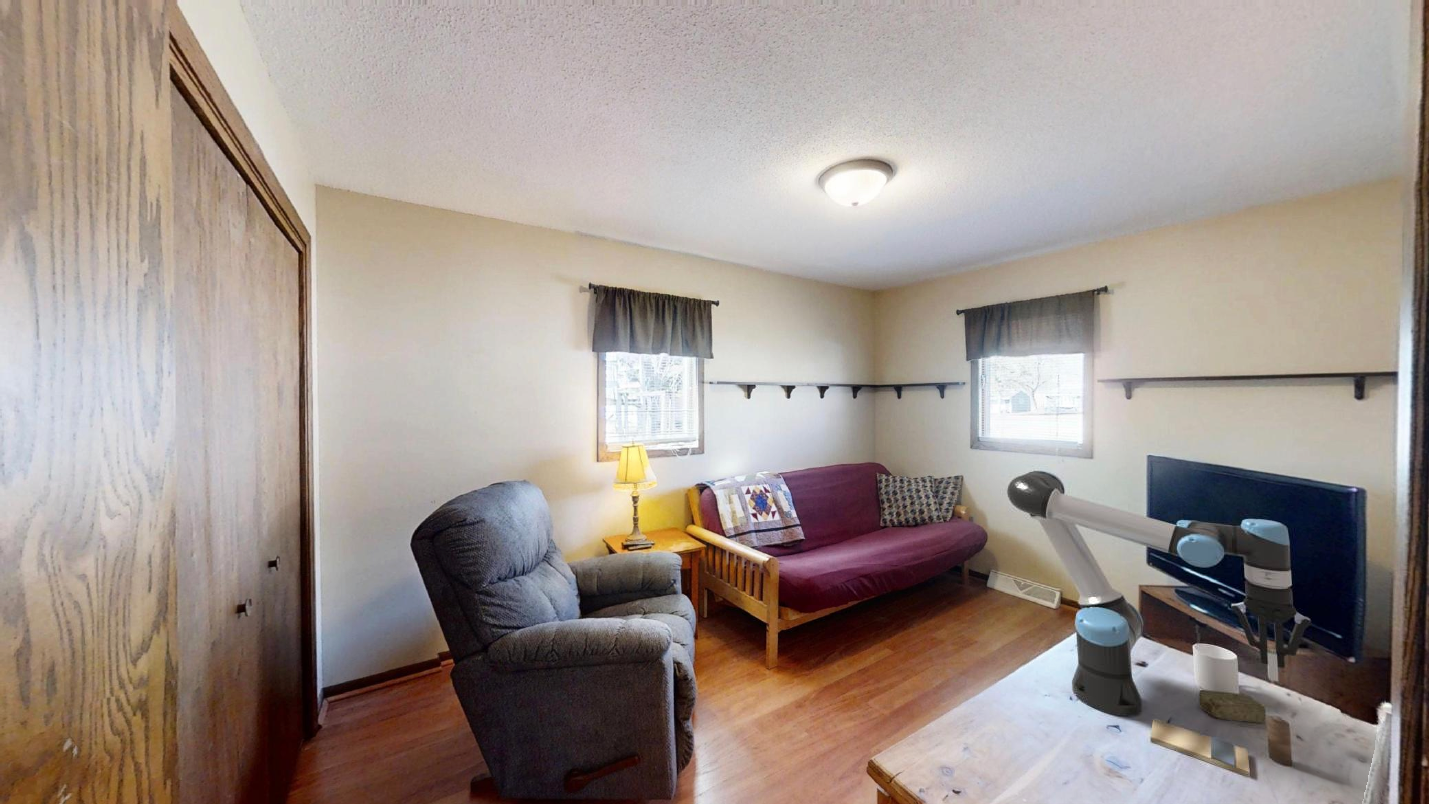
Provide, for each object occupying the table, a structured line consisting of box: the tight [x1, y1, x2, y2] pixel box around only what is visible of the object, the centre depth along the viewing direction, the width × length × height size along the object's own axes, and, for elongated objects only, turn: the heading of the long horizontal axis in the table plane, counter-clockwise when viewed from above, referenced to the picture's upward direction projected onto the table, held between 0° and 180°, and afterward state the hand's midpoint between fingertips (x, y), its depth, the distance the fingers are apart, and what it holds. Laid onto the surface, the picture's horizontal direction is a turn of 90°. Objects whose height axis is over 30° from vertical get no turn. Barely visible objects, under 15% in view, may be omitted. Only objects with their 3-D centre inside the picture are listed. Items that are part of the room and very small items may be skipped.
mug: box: [1192, 643, 1240, 694], centre depth 132 cm, size 9×12×11 cm
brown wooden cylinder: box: [1265, 714, 1293, 767], centre depth 106 cm, size 3×3×10 cm
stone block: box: [1198, 689, 1267, 724], centre depth 121 cm, size 6×12×5 cm, turn 74°
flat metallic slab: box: [1150, 718, 1251, 778], centre depth 119 cm, size 16×34×2 cm, turn 133°
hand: (1273, 678), depth 115 cm, fingers closed
